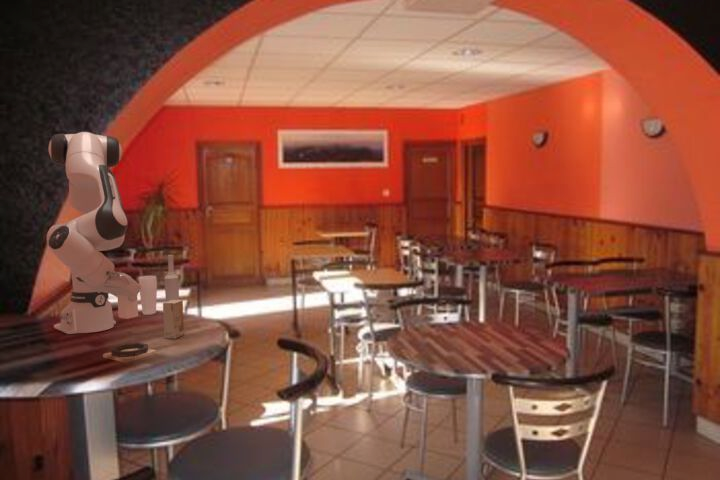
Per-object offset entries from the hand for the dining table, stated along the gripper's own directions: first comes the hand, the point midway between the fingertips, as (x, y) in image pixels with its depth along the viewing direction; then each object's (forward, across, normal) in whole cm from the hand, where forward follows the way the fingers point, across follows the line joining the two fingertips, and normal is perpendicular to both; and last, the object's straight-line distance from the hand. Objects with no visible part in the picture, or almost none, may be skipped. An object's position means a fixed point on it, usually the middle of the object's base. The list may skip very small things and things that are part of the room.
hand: (129, 298), depth 181 cm
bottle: (+39, +27, -14) cm, 49 cm away
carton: (+3, 0, +4) cm, 5 cm away
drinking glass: (+40, +44, -16) cm, 62 cm away
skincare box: (+28, +7, -3) cm, 29 cm away
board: (+12, 0, +13) cm, 17 cm away
